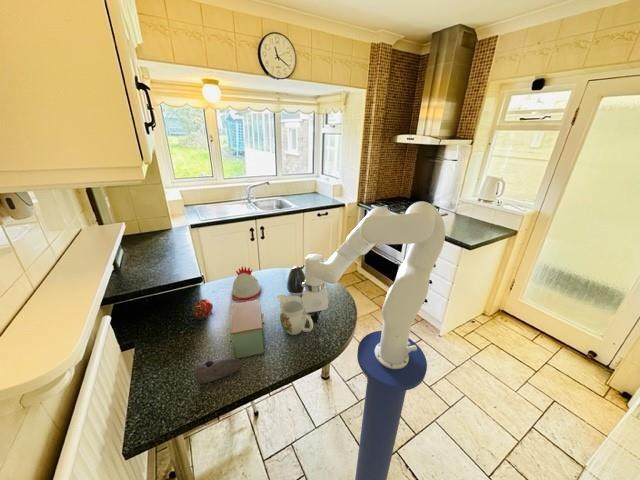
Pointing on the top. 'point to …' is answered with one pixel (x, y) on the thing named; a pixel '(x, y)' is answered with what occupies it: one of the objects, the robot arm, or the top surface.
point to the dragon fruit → (202, 309)
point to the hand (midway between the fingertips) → (314, 321)
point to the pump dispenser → (296, 281)
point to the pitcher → (293, 315)
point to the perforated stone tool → (216, 369)
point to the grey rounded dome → (245, 285)
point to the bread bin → (247, 328)
